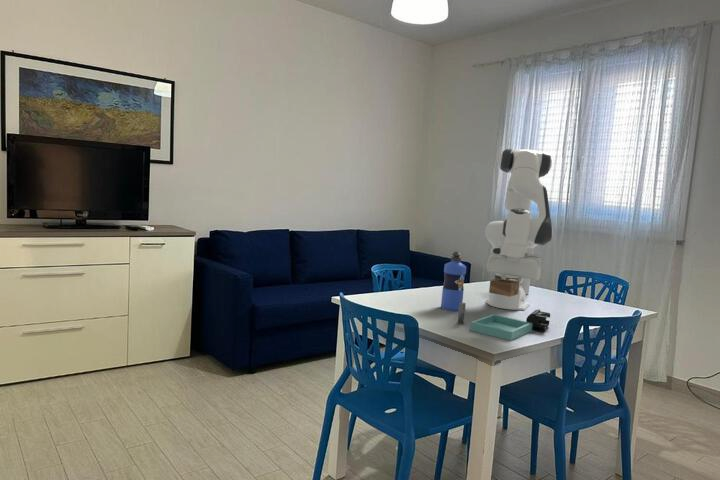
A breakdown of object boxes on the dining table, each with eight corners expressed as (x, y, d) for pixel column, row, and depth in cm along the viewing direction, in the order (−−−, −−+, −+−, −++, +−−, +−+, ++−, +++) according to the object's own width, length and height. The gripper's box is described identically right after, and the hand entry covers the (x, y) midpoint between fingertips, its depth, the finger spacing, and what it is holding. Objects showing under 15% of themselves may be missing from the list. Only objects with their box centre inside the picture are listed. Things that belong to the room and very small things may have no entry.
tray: (492, 321, 210) (493, 314, 210) (531, 330, 200) (532, 323, 200) (469, 330, 194) (470, 321, 194) (511, 340, 184) (511, 332, 184)
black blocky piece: (530, 324, 211) (532, 308, 210) (548, 328, 207) (550, 311, 207) (525, 329, 202) (527, 312, 201) (544, 333, 199) (546, 315, 198)
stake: (459, 322, 205) (461, 302, 204) (464, 323, 203) (466, 303, 203) (456, 323, 203) (458, 303, 202) (461, 324, 202) (463, 304, 201)
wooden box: (503, 288, 204) (504, 277, 203) (523, 292, 199) (524, 281, 198) (489, 292, 194) (490, 280, 193) (509, 296, 189) (511, 284, 188)
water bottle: (436, 307, 228) (441, 250, 225) (448, 304, 235) (453, 249, 232) (454, 312, 222) (460, 253, 219) (466, 309, 228) (471, 252, 226)
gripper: (545, 255, 194) (540, 291, 195) (493, 247, 207) (489, 282, 208) (539, 256, 189) (534, 293, 190) (486, 248, 202) (483, 283, 203)
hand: (511, 287), depth 199 cm, fingers closed on wooden box, 3 cm apart
